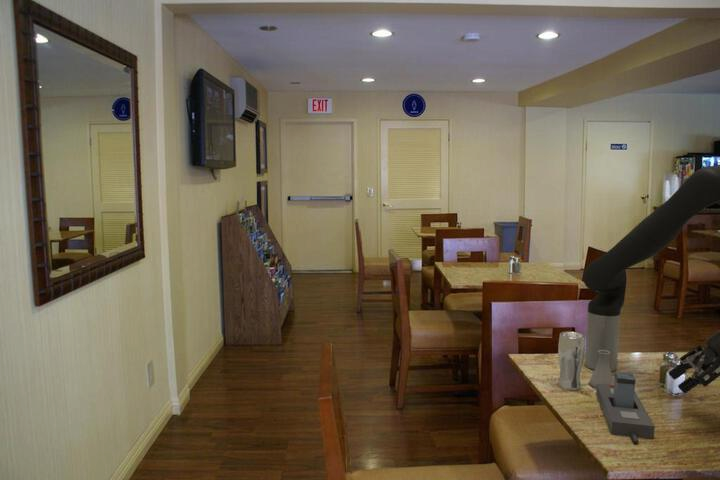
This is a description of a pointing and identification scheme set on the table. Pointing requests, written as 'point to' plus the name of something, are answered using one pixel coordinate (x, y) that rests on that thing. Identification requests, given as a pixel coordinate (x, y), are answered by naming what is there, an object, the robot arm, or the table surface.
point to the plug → (624, 390)
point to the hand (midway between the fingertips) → (675, 383)
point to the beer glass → (570, 359)
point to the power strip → (625, 415)
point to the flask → (602, 370)
